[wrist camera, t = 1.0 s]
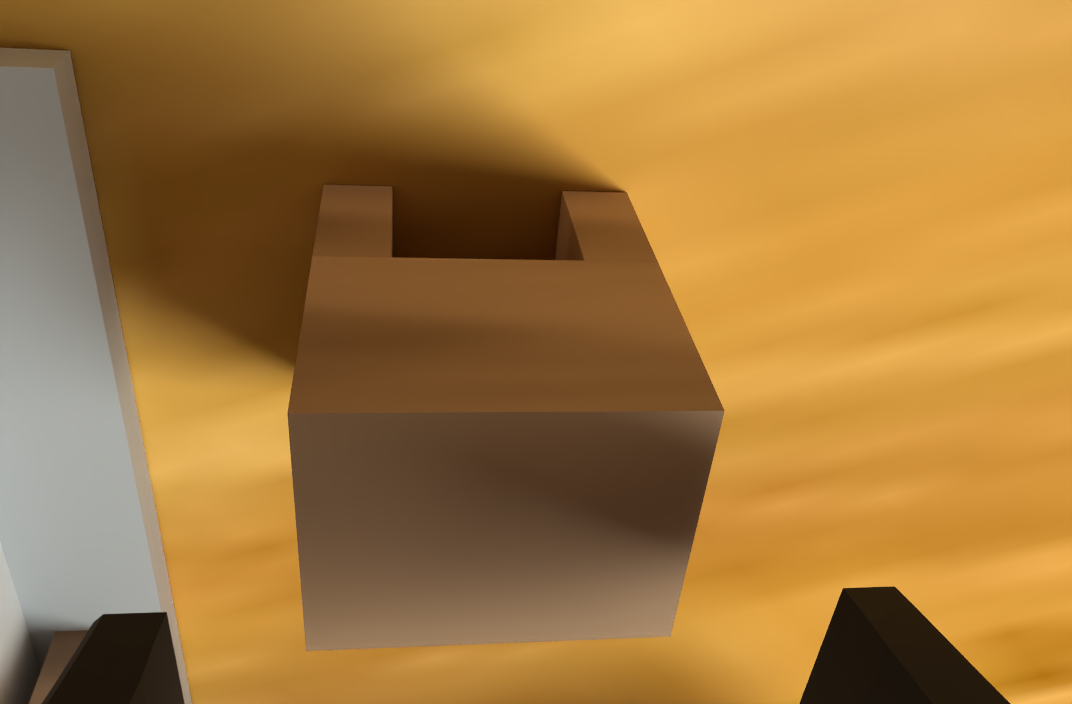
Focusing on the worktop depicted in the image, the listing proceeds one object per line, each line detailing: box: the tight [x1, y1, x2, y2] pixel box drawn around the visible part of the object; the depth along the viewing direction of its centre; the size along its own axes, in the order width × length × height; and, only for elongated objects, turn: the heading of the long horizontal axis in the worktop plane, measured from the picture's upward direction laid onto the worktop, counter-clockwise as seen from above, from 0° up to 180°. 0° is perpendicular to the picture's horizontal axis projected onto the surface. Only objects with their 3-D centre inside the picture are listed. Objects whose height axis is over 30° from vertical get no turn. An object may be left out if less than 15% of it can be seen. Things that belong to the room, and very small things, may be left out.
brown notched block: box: [288, 184, 724, 651], centre depth 15 cm, size 4×5×6 cm
